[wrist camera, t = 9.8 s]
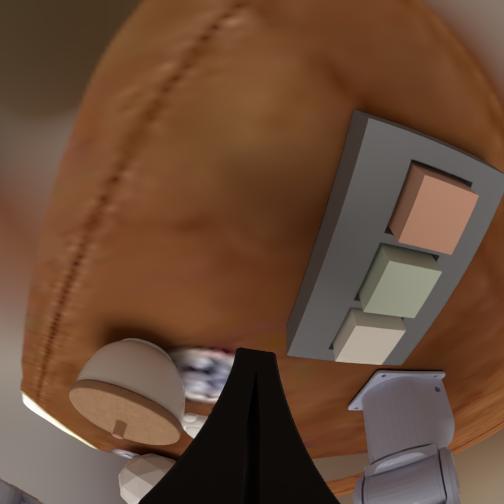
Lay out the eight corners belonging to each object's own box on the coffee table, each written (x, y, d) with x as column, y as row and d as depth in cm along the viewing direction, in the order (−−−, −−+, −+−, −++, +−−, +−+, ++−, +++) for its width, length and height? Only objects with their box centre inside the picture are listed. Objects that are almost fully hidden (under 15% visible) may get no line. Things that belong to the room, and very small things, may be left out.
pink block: (456, 177, 15) (479, 195, 13) (434, 231, 17) (451, 255, 15) (405, 158, 15) (424, 174, 12) (383, 218, 17) (397, 242, 15)
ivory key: (396, 304, 20) (405, 330, 18) (375, 338, 22) (381, 364, 20) (349, 297, 20) (356, 325, 18) (331, 334, 22) (335, 361, 20)
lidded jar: (196, 334, 26) (172, 431, 18) (195, 393, 32) (179, 467, 24) (87, 309, 26) (44, 389, 18) (108, 372, 32) (82, 438, 24)
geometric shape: (178, 435, 53) (214, 492, 41) (167, 470, 56) (196, 520, 44) (110, 442, 44) (138, 509, 33) (109, 477, 47) (133, 533, 36)
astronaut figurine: (276, 429, 37) (276, 448, 34) (200, 434, 40) (197, 451, 38) (252, 401, 33) (250, 423, 30) (168, 408, 36) (163, 427, 33)
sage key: (426, 247, 18) (442, 271, 15) (403, 292, 20) (414, 318, 18) (377, 235, 17) (389, 260, 15) (355, 284, 20) (363, 311, 17)
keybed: (484, 160, 15) (509, 177, 13) (393, 338, 25) (400, 365, 22) (353, 109, 15) (369, 117, 13) (286, 326, 25) (286, 355, 22)
